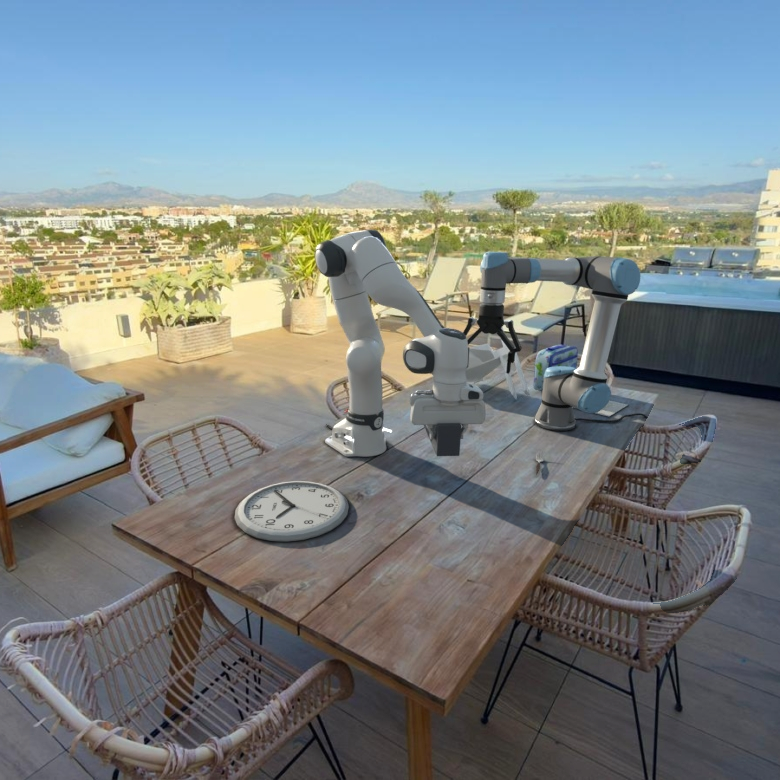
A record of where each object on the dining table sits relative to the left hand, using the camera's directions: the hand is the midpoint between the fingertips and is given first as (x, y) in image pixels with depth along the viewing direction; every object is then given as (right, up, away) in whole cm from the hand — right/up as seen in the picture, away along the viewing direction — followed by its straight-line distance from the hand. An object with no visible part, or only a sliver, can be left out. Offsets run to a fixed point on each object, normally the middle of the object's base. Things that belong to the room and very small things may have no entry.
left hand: (446, 438), depth 143 cm
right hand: (+16, +20, +25) cm, 35 cm away
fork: (+33, -11, +26) cm, 43 cm away
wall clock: (-42, -19, -3) cm, 46 cm away
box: (-1, -1, +11) cm, 11 cm away
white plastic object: (+26, +12, +100) cm, 104 cm away
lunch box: (+63, +14, +107) cm, 125 cm away
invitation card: (+76, +6, +83) cm, 113 cm away
